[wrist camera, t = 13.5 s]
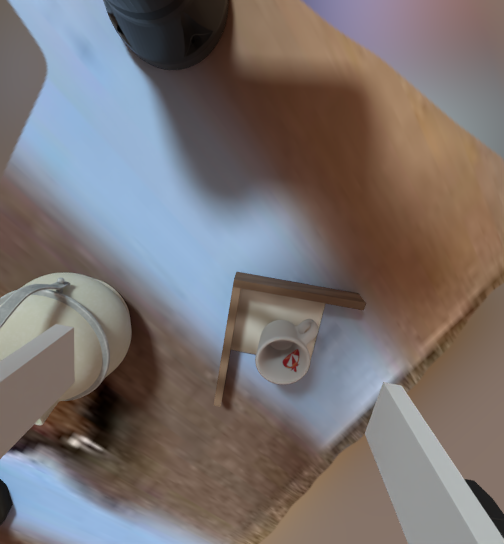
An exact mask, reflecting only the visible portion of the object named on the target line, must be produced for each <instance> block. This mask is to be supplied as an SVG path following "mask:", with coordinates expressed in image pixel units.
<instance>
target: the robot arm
mask: <svg viewBox="0 0 504 544" xmlns="http://www.w3.org/2000/svg"><path fill="white" fill-rule="evenodd" d="M103 1H104V4H105V7H106V10H107V13H108V15H109V18H110V20H111V22H112V24H113V26H114V28H115V30H116V31H117V33H118V34H119V36H120V37H121V39H122V40H123V41H124V42H125V43H126V45H127V46H128V47H129V48H130V49H131V50H132V51H133V52H134V53H135V54H136V55H138V56H139V57H140V58H141V59H143V60H144V61H146V62H147V63H149V64H151V65H153V66H156V67H158V68H162V69H168V70H178V69H184V68H188V67H190V66H193V65H195V64H197V63H198V62H200V61H201V60H203V59H204V58H205V57H206V56H207V55H208V54H209V53H210V52H211V51H212V50H213V49H214V47H215V46H216V44H217V43H218V41H219V39H220V37H221V35H222V33H223V30H224V27H225V24H226V20H227V14H228V0H103ZM74 382H75V371H74V327H70V326H64V325H58V324H55V325H54V326H52V327H51V328H49V329H48V330H46V331H45V332H43V333H42V334H40V335H39V336H37V337H36V338H34V339H33V340H31V341H30V342H28V343H27V344H25V345H24V346H22V347H21V348H19V349H18V350H16V351H15V352H13V353H12V354H10V355H9V356H7V357H6V358H4V359H3V360H1V361H0V459H1V458H2V457H3V456H4V455H5V454H6V452H7V451H8V450H9V449H10V448H11V447H12V446H13V445H14V444H15V443H16V442H17V441H18V440H19V439H20V438H21V437H22V436H23V435H24V434H25V433H26V432H27V431H28V430H29V429H30V428H31V427H32V426H33V425H34V424H35V423H36V422H37V421H38V419H39V418H40V417H41V416H42V415H43V414H44V413H45V412H46V411H47V410H48V409H49V408H50V407H51V406H52V405H53V404H54V403H55V402H56V401H57V400H58V399H59V398H60V397H61V396H62V395H63V394H64V393H65V392H66V391H67V390H68V389H69V388H70V386H71V385H72V384H73V383H74ZM365 435H366V438H367V441H368V443H369V445H370V448H371V451H372V453H373V456H374V458H375V461H376V463H377V466H378V469H379V471H380V474H381V476H382V479H383V481H384V484H385V486H386V489H387V491H388V494H389V497H390V499H391V502H392V504H393V507H394V509H395V512H396V514H397V517H398V519H399V522H400V525H401V527H402V529H403V532H404V535H405V537H406V540H407V542H408V544H504V514H503V512H502V511H501V510H500V508H499V507H498V505H497V504H496V503H495V501H494V500H493V499H492V498H491V497H490V496H489V495H488V494H487V493H486V492H485V491H484V490H483V489H482V488H481V487H480V486H479V485H478V484H477V483H476V482H475V481H472V480H467V479H463V477H462V476H461V474H460V473H459V471H458V470H457V468H456V467H455V465H454V464H453V462H452V461H451V459H450V458H449V456H448V455H447V453H446V452H445V450H444V449H443V447H442V446H441V444H440V443H439V441H438V440H437V438H436V437H435V435H434V434H433V432H432V431H431V429H430V428H429V426H428V425H427V423H426V422H425V420H424V419H423V417H422V416H421V414H420V413H419V411H418V410H417V408H416V407H415V405H414V404H413V402H412V401H411V399H410V398H409V396H408V395H407V393H406V392H405V390H404V389H403V387H402V386H401V385H396V384H390V383H384V382H383V385H382V388H381V390H380V393H379V396H378V399H377V401H376V404H375V407H374V410H373V413H372V415H371V418H370V421H369V424H368V426H367V429H366V432H365Z"/></svg>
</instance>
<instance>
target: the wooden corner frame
mask: <svg viewBox="0 0 504 544" xmlns="http://www.w3.org/2000/svg"><path fill="white" fill-rule="evenodd" d="M325 304H331V305H337V306H342V307H348V308H354V309H359V310H364V308H365V305H366V302H365V301H364V300H363V299H362V297H361V296H360V295H359V294H358V293H353V292H347V291H342V290H336V289H330V288H325V287H319V286H314V285H308V284H302V283H297V282H291V281H286V280H280V279H275V278H269V277H263V276H258V275H252V274H247V273H241V272H236V275H235V278H234V283H233V289H232V295H231V302H230V308H229V314H228V320H227V326H226V332H225V339H224V345H223V351H222V357H221V363H220V369H219V376H218V382H217V388H216V394H215V400H214V406H220V407H221V402H222V397H223V392H224V387H225V381H226V375H227V369H228V363H229V358H230V352H231V350H235V351H241V352H246V353H252V354H256V353H257V349H258V345H259V341H260V337H261V333H262V331H263V329H264V328H265V327H266V326H267V325H268V324H269V323H271V322H273V321H276V320H286V321H289V322H291V323H292V324H294V325H295V326H297V325H299V324H300V323H301V322H303V321H304V320H306V319H312V320H314V321H315V322H316V324H317V325H318V329H319V326H320V322H321V319H322V315H323V311H324V307H325ZM309 328H310V327H308V328H307V329H306V330H305V332H307V331H308V330H309ZM305 332H304V333H305ZM316 337H317V335H316ZM316 337H315V338H314V339H313V340H312V341H311V342H309V343H308V344H307V349H308V351H309V354H310V360H311V356H312V352H313V349H314V345H315V341H316Z"/></svg>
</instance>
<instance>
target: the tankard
mask: <svg viewBox="0 0 504 544" xmlns="http://www.w3.org/2000/svg"><path fill="white" fill-rule="evenodd" d="M11 506H12V501H11V498H10V495H9V491H8V488H7V485H6V484H5V483H4V482H3V481H2V480H1V479H0V525H1V524H2V523H3V521H4V520H5V518H6V516H7V514H8V512H9V510H10V508H11Z"/></svg>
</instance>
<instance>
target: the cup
mask: <svg viewBox="0 0 504 544" xmlns="http://www.w3.org/2000/svg"><path fill="white" fill-rule="evenodd" d="M308 327H310V328H309V330H308V331H307V332H305V330H306V329H307V328H308ZM318 330H319V329H318V325H317V324H316V322H315V321H314V320H312V319H306V320H304V321H303V322H301V323H300V324H299V325H297V326H295V325H294V324H292V323H291V322H289V321H286V320H276V321H273V322H271V323H269V324H268V325H267V326H266V327H265V328H264V329H263V331H262V333H261V337H260V341H259V345H258V349H257V353H256V359H255V361H256V367H257V369H258V371H259V373H260V374H261V375H262V376H263V377H264V378H265V379H266V380H268V381H270V382H272V383H275V384H291V383H294V382H296V381H298V380H300V379H301V378H302V377H303V376H304V375H305V374H306V373H307V371H308V369H309V366H310V354H309V351H308V349H307V344H308V343H309V342H311V341H312V340H313V339H314V338H315V337H316V335H317V334H318ZM304 332H305V333H304Z"/></svg>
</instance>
